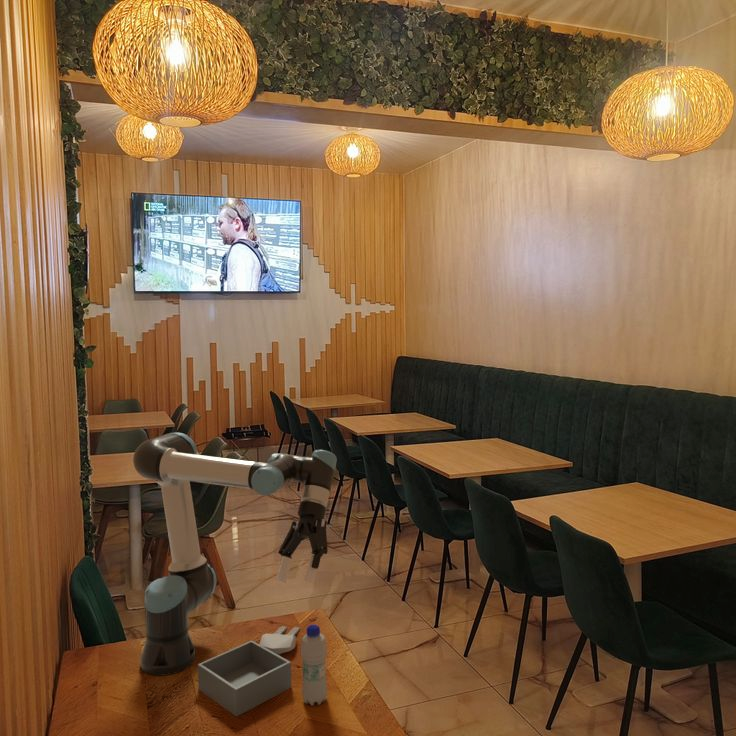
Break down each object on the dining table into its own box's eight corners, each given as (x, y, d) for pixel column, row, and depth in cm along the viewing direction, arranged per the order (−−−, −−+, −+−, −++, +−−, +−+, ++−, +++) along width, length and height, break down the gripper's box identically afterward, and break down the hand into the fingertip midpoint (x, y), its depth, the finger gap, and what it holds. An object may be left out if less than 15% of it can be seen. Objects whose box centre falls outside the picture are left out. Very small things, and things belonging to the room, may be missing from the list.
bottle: (323, 709, 161) (322, 632, 160) (298, 706, 162) (296, 630, 161) (330, 694, 168) (329, 620, 166) (306, 691, 169) (304, 618, 168)
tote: (198, 689, 171) (197, 664, 170) (252, 663, 183) (251, 640, 183) (236, 716, 159) (235, 689, 158) (291, 687, 171) (290, 662, 171)
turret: (305, 637, 204) (305, 622, 204) (288, 659, 184) (288, 642, 185) (275, 635, 205) (275, 620, 206) (255, 657, 186) (256, 640, 186)
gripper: (351, 504, 172) (333, 585, 162) (299, 512, 190) (281, 584, 180) (329, 495, 168) (310, 577, 158) (278, 503, 186) (259, 577, 176)
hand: (294, 581), depth 169 cm, fingers open, 13 cm apart
